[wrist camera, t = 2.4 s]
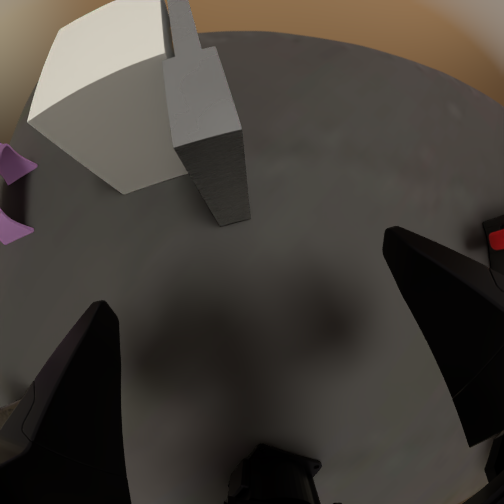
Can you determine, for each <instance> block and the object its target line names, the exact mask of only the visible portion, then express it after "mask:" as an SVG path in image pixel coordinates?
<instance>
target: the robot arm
mask: <svg viewBox="0 0 504 504" xmlns="http://www.w3.org/2000/svg"><path fill="white" fill-rule="evenodd" d="M382 250H383V256H384V258H385V260H386V262H387V264H388V266H389V268H390V270H391V273H392V275H393V277H394V279H395V281H396V283H397V286H398V288H399V290H400V292H401V294H402V296H403V298H404V300H405V301H406V303H407V305H408V307H409V309H410V310H411V312H412V314H413V316H414V318H415V320H416V321H417V323H418V325H419V327H420V329H421V331H422V333H423V335H424V337H425V339H426V341H427V343H428V345H429V347H430V349H431V351H432V353H433V355H434V357H435V360H436V362H437V364H438V366H439V368H440V371H441V373H442V375H443V377H444V380H445V382H446V384H447V387H448V389H449V392H450V394H451V397H452V398H453V402H454V405H455V407H456V410H457V413H458V415H459V418H460V421H461V424H462V427H463V430H464V433H465V436H466V439H467V442H468V445H469V447H473V446H475V445H477V444H479V443H481V442H483V441H485V440H487V439H489V438H491V437H493V436H495V435H496V434H498V433H500V432H502V431H503V432H502V433H501V434H499V435H498V436H497V437H496V438H495V439H494V441H493V445H492V448H491V451H490V455H489V458H488V461H487V464H486V467H485V469H484V470H485V473H486V476H487V479H488V482H489V483H488V484H487V485H486V486H485V487H484V488H482V489H481V490H480V491H479V492H477V493H476V494H475V495H473V496H472V497H471V498H469V499H468V500H467V501H466V502H464V503H463V504H504V275H502V274H500V273H498V272H496V271H494V270H492V269H491V268H488V267H487V266H485V265H483V264H481V263H479V262H477V261H475V260H473V259H471V258H469V257H467V256H465V255H462V254H460V253H458V252H456V251H454V250H452V249H450V248H448V247H445V246H443V245H441V244H439V243H437V242H434V241H432V240H430V239H428V238H425V237H423V236H421V235H418V234H416V233H414V232H411V231H409V230H406V229H404V228H401V227H399V226H394V227H390V228H387V229H386V230H385V233H384V241H383V249H382ZM260 448H264V450H260ZM315 465H318V466H316V467H314V466H315ZM321 467H322V465H321V462H320V461H316V460H313V459H309V458H306V457H302V456H299V455H295V454H292V453H289V452H286V451H283V450H280V449H277V448H274V447H271V446H268V445H266V444H259V445H257V446H256V448H255V449H254V450H253V452H252V453H251V455H250V456H249V457H248V459H243V460H242V461H241V463H240V464H239V465H238V467H237V468H236V469H235V470H234V472H233V473H232V474H231V478H230V481H229V483H228V487H229V492H228V497H227V500H226V502H224V503H223V504H320V500H319V497H318V494H317V490H316V487H315V484H314V480H313V477H314V476H315V474H316V473H317V472H318V471H319V470H320V469H321ZM0 504H131V499H130V493H129V487H128V480H127V474H126V466H125V457H124V447H123V435H122V417H121V355H120V335H119V320H118V317H117V316H116V314H115V313H114V312H113V310H112V309H111V308H110V306H109V305H108V304H107V302H106V301H104V300H101V301H96V302H93V303H92V304H91V305H90V307H89V308H88V309H87V310H86V311H85V313H84V314H83V315H82V316H81V318H80V319H79V320H78V321H77V322H76V324H75V325H74V326H73V328H72V329H71V330H70V331H69V333H68V334H67V335H66V337H65V338H64V339H63V340H62V342H61V343H60V344H59V346H58V347H57V348H56V350H55V351H54V352H53V354H52V355H51V357H50V358H49V359H48V361H47V362H46V364H45V365H44V366H43V368H42V369H41V371H40V372H39V374H38V375H37V376H36V378H35V381H33V382H32V384H31V385H30V387H29V388H28V390H27V391H26V393H25V394H24V396H23V397H22V399H21V400H20V402H19V403H18V405H17V406H16V407H15V409H14V410H13V412H12V413H11V415H10V416H9V417H8V419H7V420H6V422H5V423H4V425H3V426H2V428H1V429H0ZM333 504H342V503H333Z"/></svg>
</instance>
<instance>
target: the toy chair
mask: <svg viewBox="0 0 504 504" xmlns="http://www.w3.org/2000/svg"><path fill="white" fill-rule="evenodd" d="M37 167H38V164H36V163H34V162H32V161H30V160H28V159H26V158H24V157H22V156H21V155H19V154H18V153H17V152H15V151H14V150H13V149H12V148H11V147H10V146H9V145H8V144H4V145H3V144H1V143H0V174H1V175H2V177H3V178H4V179H5V181H6V183H7V184H8V185H10V184H11V183H13V182H14V181H16V180H17V179H19V178H21V177H22V176H24V175H25V174H27V173H29V172H30V171H32V170H34V169H35V168H37ZM32 232H34V228H32V227H29V226H26V225H23V224H21V223H18V222H16V221H14V220H12V219H11V218H9V217H8V216H7V215H6V214H5V213H4V212H3V211H2V210H1V208H0V241H1V242H2V243H3V244H4V245H7V244H9V243H11V242H13V241H15V240H17V239H19V238H21V237H23V236H26V235H28V234H30V233H32Z"/></svg>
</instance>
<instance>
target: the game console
mask: <svg viewBox="0 0 504 504" xmlns="http://www.w3.org/2000/svg"><path fill="white" fill-rule="evenodd" d="M483 225H484V229H485V230H486V235H487V240H488V245H489V251H490V254H489V256H490V262H491V269H492V270H494V271H496V272H498V273H500V274H502V275H504V215H502V216H500V217H497V218H494V219H491V220H488V221H485V222H483Z"/></svg>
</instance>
